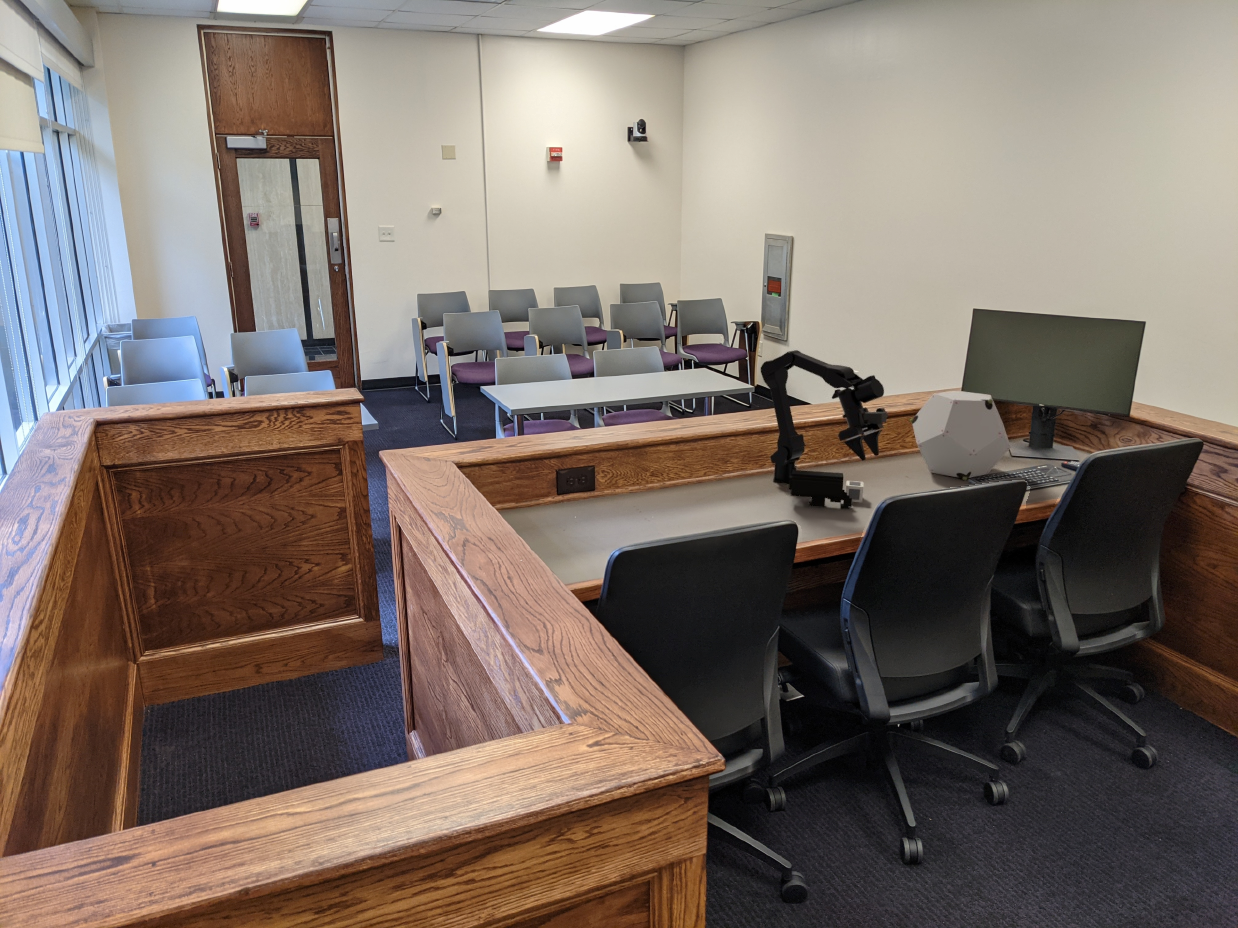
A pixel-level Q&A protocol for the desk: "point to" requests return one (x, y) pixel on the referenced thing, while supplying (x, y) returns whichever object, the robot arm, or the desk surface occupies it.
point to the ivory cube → (855, 490)
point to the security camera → (819, 487)
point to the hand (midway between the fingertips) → (870, 457)
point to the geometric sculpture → (960, 434)
